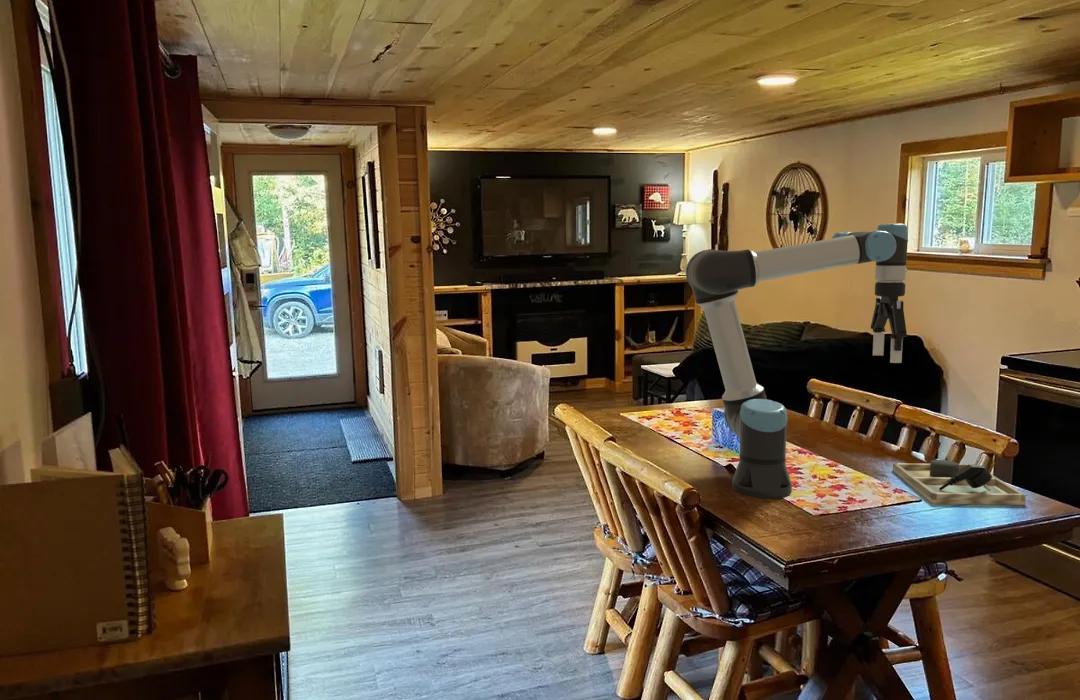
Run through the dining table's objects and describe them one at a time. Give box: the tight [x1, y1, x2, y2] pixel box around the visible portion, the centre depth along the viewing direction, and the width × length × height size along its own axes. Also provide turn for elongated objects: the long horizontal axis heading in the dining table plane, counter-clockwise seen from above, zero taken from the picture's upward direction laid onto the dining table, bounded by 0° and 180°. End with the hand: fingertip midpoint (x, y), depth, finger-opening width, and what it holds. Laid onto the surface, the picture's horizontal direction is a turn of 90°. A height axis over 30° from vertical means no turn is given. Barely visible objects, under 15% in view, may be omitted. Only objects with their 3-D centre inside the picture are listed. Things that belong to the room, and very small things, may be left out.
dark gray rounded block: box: [929, 459, 960, 477], centre depth 211 cm, size 7×7×4 cm
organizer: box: [892, 462, 1027, 506], centre depth 205 cm, size 22×27×2 cm
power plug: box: [939, 463, 993, 491], centre depth 198 cm, size 6×8×12 cm
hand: (886, 359), depth 213 cm, fingers open, 13 cm apart
